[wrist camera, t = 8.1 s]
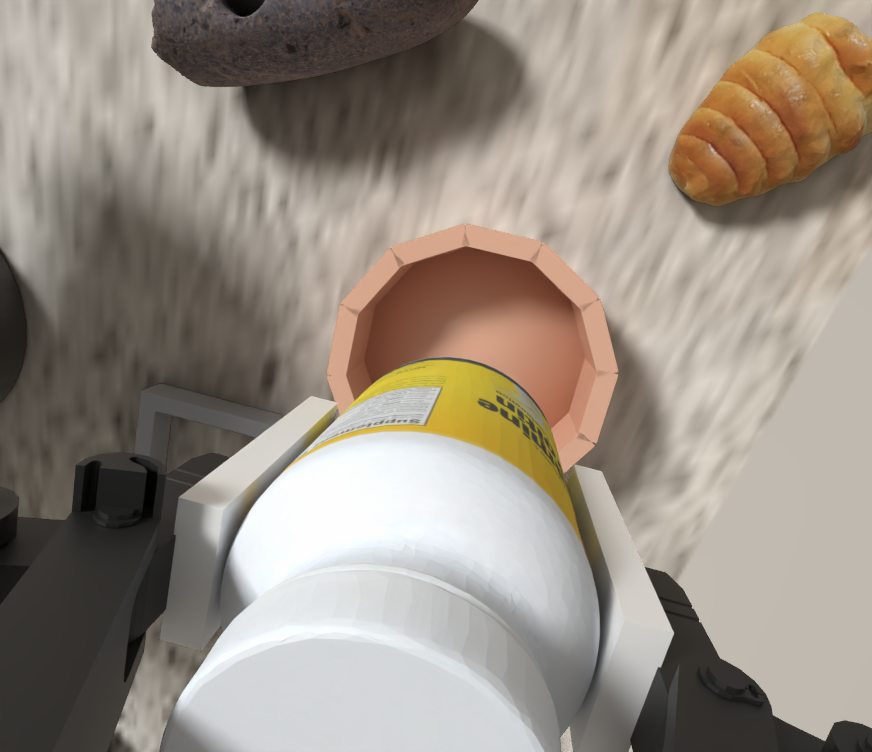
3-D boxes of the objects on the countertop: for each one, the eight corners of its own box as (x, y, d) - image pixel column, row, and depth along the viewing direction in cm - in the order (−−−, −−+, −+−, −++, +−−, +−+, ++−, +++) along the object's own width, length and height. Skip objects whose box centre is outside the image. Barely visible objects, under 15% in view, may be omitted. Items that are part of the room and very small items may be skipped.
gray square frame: (138, 563, 39) (119, 580, 37) (160, 383, 36) (140, 390, 34) (322, 615, 38) (312, 634, 36) (360, 435, 35) (351, 446, 33)
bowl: (335, 436, 35) (308, 466, 30) (381, 206, 32) (359, 198, 27) (557, 495, 34) (567, 535, 30) (628, 264, 31) (652, 267, 26)
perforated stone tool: (479, -39, 29) (472, -128, 22) (485, 73, 30) (481, 22, 23) (200, 0, 31) (116, -70, 24) (216, 105, 32) (139, 66, 25)
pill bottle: (553, 554, 18) (644, 1073, 7) (351, 547, 19) (122, 1005, 7) (557, 349, 17) (681, 563, 5) (339, 350, 17) (34, 541, 6)
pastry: (707, 240, 31) (735, 238, 27) (636, 136, 30) (654, 119, 26) (875, 123, 29) (930, 104, 25) (802, 8, 28) (847, -29, 24)
